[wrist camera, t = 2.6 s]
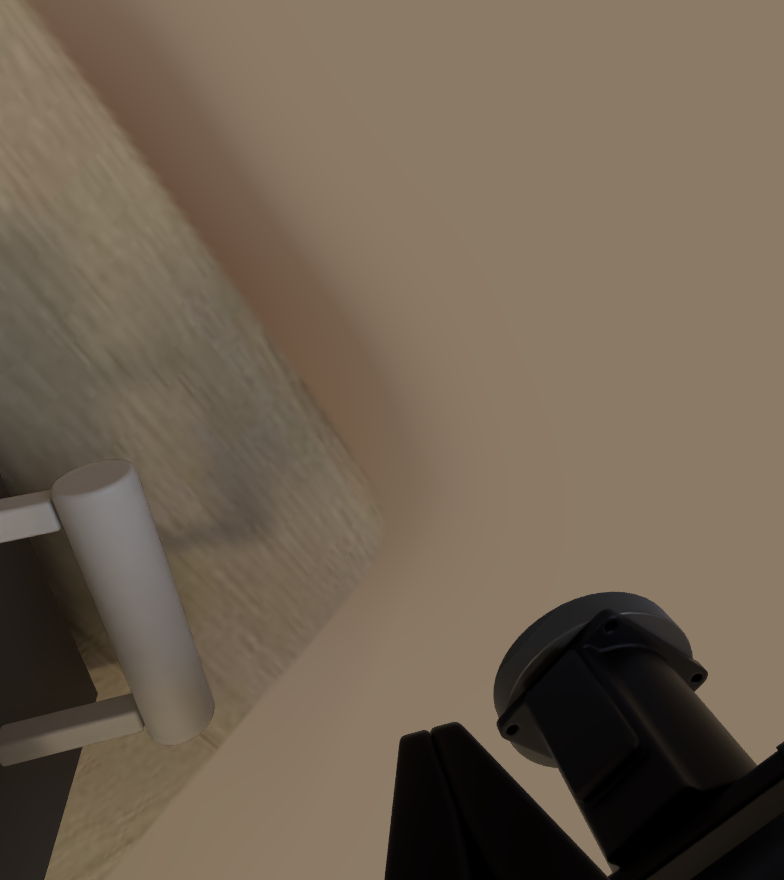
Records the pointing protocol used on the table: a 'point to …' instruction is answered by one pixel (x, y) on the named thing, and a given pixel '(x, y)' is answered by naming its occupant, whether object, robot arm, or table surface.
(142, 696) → the drawer
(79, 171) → the table surface
